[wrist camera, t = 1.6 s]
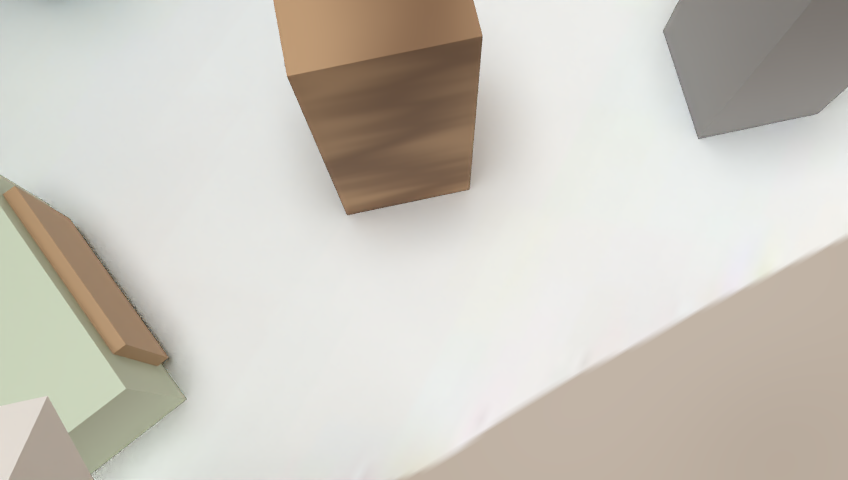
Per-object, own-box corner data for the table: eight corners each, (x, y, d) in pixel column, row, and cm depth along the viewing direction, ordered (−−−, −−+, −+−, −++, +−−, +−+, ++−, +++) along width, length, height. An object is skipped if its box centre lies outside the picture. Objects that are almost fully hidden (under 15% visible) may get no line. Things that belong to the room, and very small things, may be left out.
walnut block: (347, 214, 31) (287, 76, 19) (325, 102, 32) (256, -91, 21) (469, 189, 31) (482, 36, 19) (442, 78, 32) (440, -127, 21)
